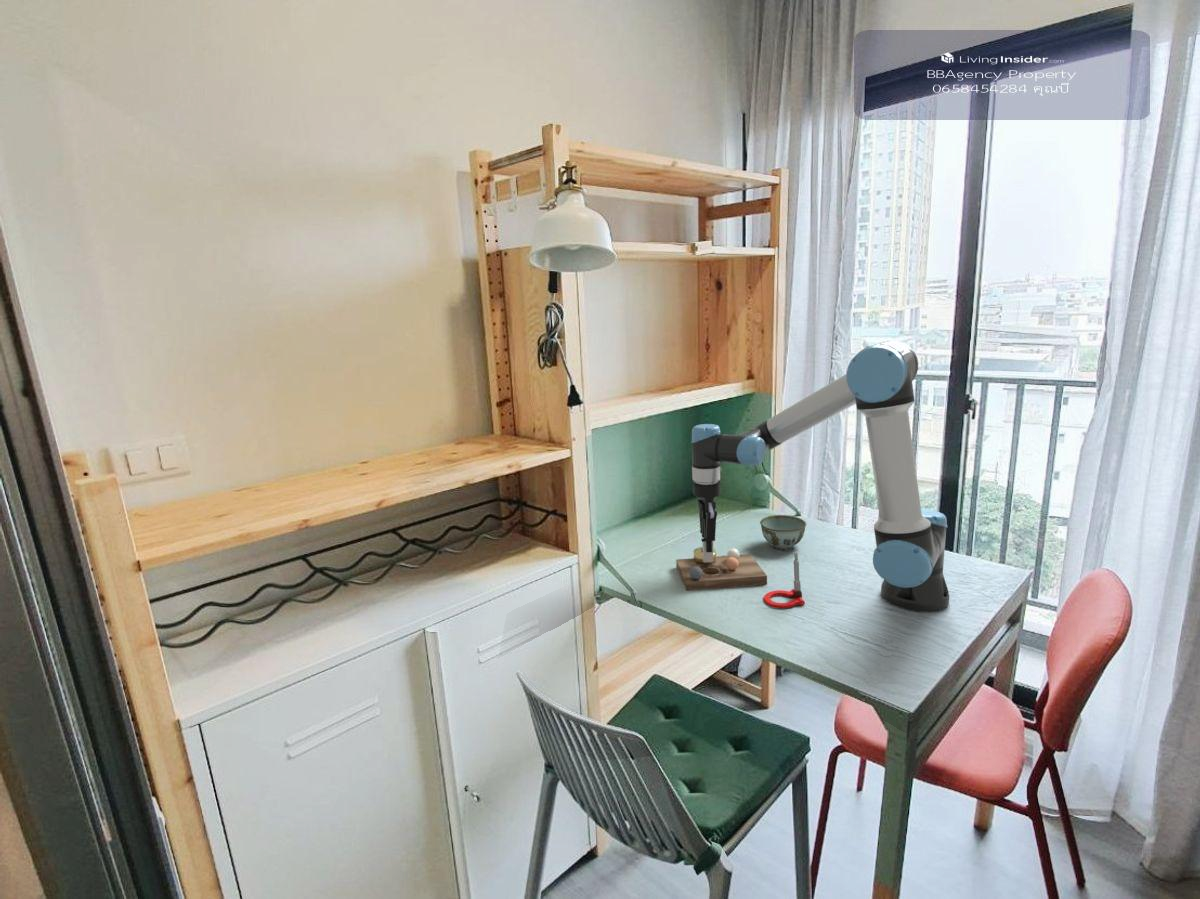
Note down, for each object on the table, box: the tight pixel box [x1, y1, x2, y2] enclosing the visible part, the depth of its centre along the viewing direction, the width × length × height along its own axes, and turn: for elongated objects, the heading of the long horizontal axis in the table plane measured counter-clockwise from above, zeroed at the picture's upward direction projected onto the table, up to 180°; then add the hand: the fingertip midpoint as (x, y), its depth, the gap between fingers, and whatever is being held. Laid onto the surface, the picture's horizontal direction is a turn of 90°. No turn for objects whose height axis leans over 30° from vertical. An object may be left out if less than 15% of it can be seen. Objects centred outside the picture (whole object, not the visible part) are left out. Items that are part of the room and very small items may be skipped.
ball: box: [726, 557, 739, 570], centre depth 167 cm, size 4×4×4 cm
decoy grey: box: [689, 566, 702, 579], centre depth 163 cm, size 4×4×4 cm
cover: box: [693, 546, 717, 564], centre depth 174 cm, size 6×6×4 cm
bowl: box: [759, 514, 807, 551], centre depth 186 cm, size 14×13×8 cm
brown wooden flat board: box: [675, 553, 768, 591], centre depth 169 cm, size 15×22×2 cm
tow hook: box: [763, 551, 806, 609], centre depth 152 cm, size 8×13×9 cm
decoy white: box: [726, 547, 741, 560], centre depth 173 cm, size 4×4×4 cm
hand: (708, 561), depth 170 cm, fingers closed
